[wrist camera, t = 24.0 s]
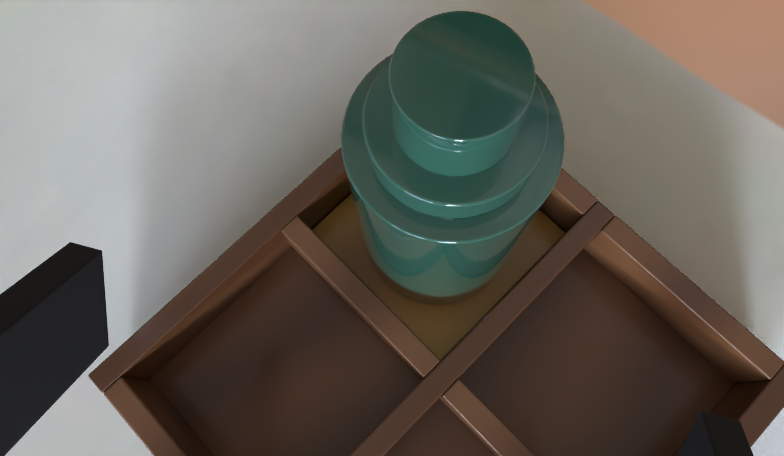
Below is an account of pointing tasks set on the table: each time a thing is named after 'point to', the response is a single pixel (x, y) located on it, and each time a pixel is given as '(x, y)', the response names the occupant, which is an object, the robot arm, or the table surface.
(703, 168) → the table surface
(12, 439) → the robot arm
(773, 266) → the table surface
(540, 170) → the green bottle
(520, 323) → the tray
